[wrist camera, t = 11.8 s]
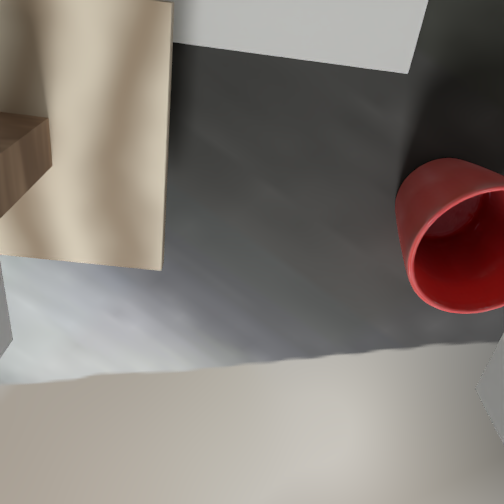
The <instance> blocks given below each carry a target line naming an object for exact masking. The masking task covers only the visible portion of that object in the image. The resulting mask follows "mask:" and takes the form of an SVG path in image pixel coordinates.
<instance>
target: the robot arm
mask: <svg viewBox="0 0 504 504" xmlns="http://www.w3.org/2000/svg"><path fill="white" fill-rule="evenodd" d="M12 340H13V338H12V331H11V325H10V319H9V313H8V307H7V300H6V294H5V288H4V282H3V276H2V270H1V263H0V358H1V356H2V355H3V353H4V352H5V350H6V349H7V347H8V346H9V344H10V343H11V341H12ZM475 390H476V392H477V394H478V396H479V398H480V400H481V402H482V403H483V405H484V408H485V409H486V411H487V413H488V415H489V417H490V419H491V421H492V423H493V425H494V427H495V429H496V431H497V433H498V435H499V437H500V439H501V441H502V443H503V444H504V333H503V335H502V337H501V339H500V341H499V343H498V345H497V347H496V349H495V351H494V353H493V355H492V357H491V359H490V361H489V363H488V364H487V366H486V368H485V370H484V372H483V374H482V376H481V378H480V380H479V382H478V384H477V386H476V388H475Z"/></svg>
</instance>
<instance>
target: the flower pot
mask: <svg viewBox="0 0 504 504" xmlns="http://www.w3.org/2000/svg"><path fill="white" fill-rule="evenodd" d="M395 212H396V219H397V227H398V233H399V239H400V244H401V249H402V254H403V259H404V264H405V268H406V272H407V275H408V279H409V281H410V284H411V286H412V288H413V289H414V291H415V292H416V294H417V295H418V296H419V297H420V298H421V299H422V300H423V301H425V302H426V303H427V304H429V305H431V306H433V307H435V308H437V309H440V310H443V311H447V312H452V313H463V314H466V313H479V312H485V311H489V310H493V309H496V308H500V307H502V306H504V176H503V175H500V174H498V173H496V172H493V171H491V170H489V169H486V168H484V167H481V166H479V165H476V164H473V163H470V162H467V161H464V160H461V159H456V158H441V159H436V160H433V161H430V162H428V163H425V164H423V165H422V166H420V167H418V168H417V169H415V170H414V171H413V172H412V173H411V174H409V176H408V177H407V178H406V179H405V180H404V182H403V183H402V185H401V186H400V188H399V191H398V193H397V196H396V201H395Z"/></svg>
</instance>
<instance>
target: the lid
mask: <svg viewBox="0 0 504 504" xmlns="http://www.w3.org/2000/svg"><path fill="white" fill-rule="evenodd" d="M173 24H174V2H171V1H164V0H0V255H10V256H20V257H29V258H39V259H49V260H59V261H69V262H79V263H89V264H99V265H109V266H119V267H129V268H139V269H149V270H159V271H161V270H162V266H163V263H164V241H165V217H166V193H167V169H168V145H169V121H170V97H171V72H172V48H173Z"/></svg>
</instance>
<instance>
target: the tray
mask: <svg viewBox="0 0 504 504" xmlns="http://www.w3.org/2000/svg"><path fill="white" fill-rule="evenodd" d="M164 1H171V2H174V24H173V42H176V43H183V44H191V45H198V46H206V47H213V48H220V49H228V50H235V51H242V52H250V53H257V54H265V55H272V56H279V57H287V58H294V59H302V60H309V61H316V62H324V63H331V64H339V65H346V66H353V67H361V68H368V69H376V70H383V71H390V72H398V73H405V74H408V72H409V68H410V64H411V61H412V57H413V54H414V50H415V46H416V43H417V39H418V36H419V32H420V28H421V25H422V21H423V17H424V14H425V10H426V7H427V3H428V0H164Z"/></svg>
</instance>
